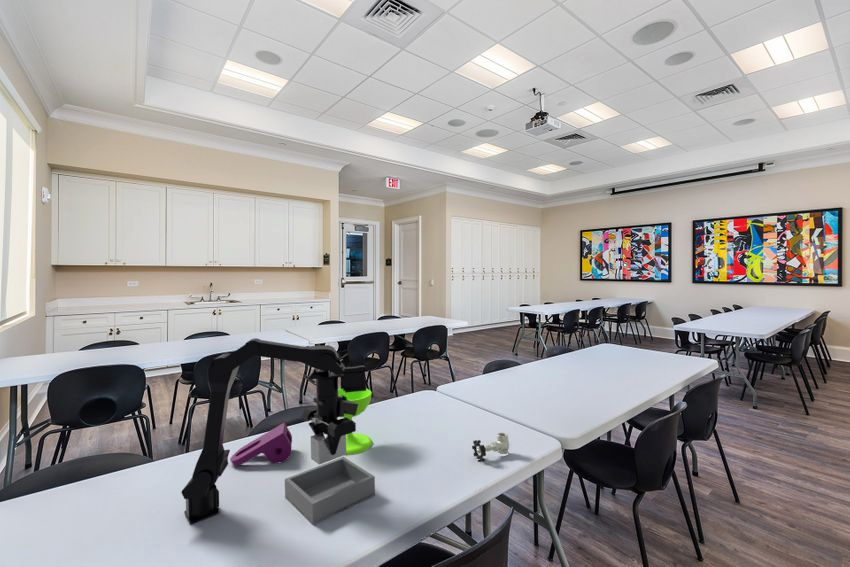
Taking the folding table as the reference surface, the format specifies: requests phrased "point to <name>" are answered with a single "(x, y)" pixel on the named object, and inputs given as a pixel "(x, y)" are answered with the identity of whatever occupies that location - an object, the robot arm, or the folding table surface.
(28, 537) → the folding table surface
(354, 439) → the wineglass
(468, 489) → the folding table surface
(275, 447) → the mounting bracket
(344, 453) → the grey bevelled block
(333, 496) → the open box
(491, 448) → the valve
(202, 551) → the folding table surface
